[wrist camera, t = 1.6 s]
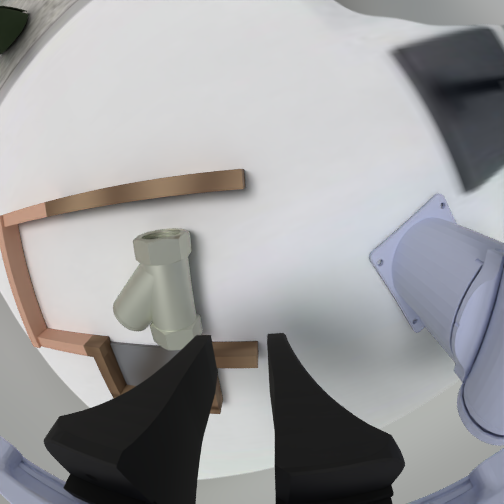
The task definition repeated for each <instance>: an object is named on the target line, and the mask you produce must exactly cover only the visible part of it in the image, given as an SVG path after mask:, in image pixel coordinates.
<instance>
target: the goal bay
mask: <svg viewBox="0 0 504 504" xmlns="http://www.w3.org/2000/svg"><path fill="white" fill-rule="evenodd" d="M44 217H47V215H46V208H45V202H44V203H41V204H37V205H34V206H30V207H27V208H23V209H20V210H17V211H14V212H11V213H7V214H4V215H1V216H0V248H1V253H2V257H3V261H4V265H5V269H6V273H7V276H8V280H9V283H10V287H11V290H12V293H13V296H14V299H15V302H16V305H17V308H18V310H19V313H20V316H21V318H22V321H23V323H24V326H25V328H26V331H27V333H28V335H29V338H30V340H31V342H32V344H33V346H34V347H37V348H40V347H41V346H43V347H47V348H51V349H55V350H60V351H65V352H69V353H74V354H79V355H85V356H87V353H86V351H85V349H84V346H83V345H84V344H85V343H86V342H87V341H88V340H89V339H90V338H91V337H92V336H93V335H90V334H82V333H75V332H68V331H61V330H55V329H49V328H47V327H46V324H45V321H44V319H43V316H42V313H41V311H40V308H39V305H38V302H37V299H36V296H35V293H34V290H33V286H32V283H31V280H30V276H29V273H28V269H27V265H26V261H25V257H24V253H23V248H22V243H21V238H20V233H19V228H18V224H19V223H23V222H27V221H31V220H35V219H40V218H44Z"/></svg>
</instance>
